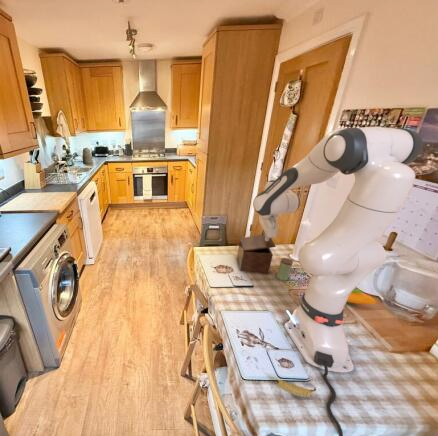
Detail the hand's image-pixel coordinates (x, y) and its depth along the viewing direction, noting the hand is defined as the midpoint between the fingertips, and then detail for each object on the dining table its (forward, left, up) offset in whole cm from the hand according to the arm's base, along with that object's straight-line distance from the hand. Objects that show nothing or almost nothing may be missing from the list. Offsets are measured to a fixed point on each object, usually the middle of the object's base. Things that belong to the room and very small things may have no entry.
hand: (264, 237), depth 117 cm
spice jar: (-8, -9, -18) cm, 22 cm away
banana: (-64, +4, -18) cm, 67 cm away
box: (0, +4, -18) cm, 18 cm away
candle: (+12, -22, -18) cm, 31 cm away
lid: (0, +3, -4) cm, 5 cm away
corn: (-20, -30, -18) cm, 41 cm away
